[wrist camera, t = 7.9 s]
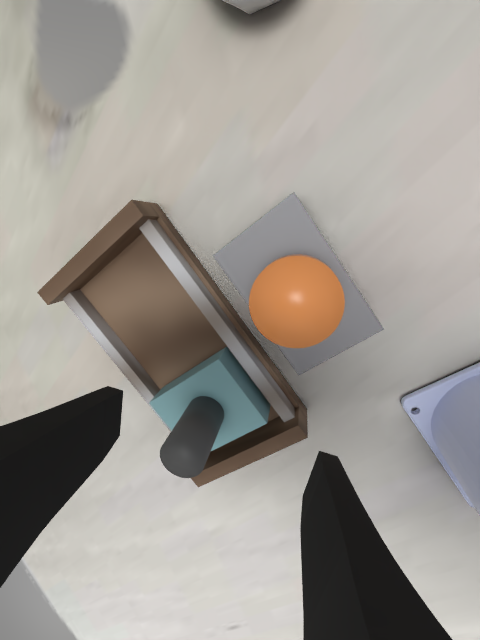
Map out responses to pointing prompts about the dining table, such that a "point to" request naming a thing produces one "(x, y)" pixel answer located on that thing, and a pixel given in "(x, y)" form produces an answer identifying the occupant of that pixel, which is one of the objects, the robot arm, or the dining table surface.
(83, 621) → the dining table surface
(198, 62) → the dining table surface
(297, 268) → the button
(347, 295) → the grey rectangular block
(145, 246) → the rail board
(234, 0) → the salt shaker
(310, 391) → the dining table surface
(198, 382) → the blue block with peg
